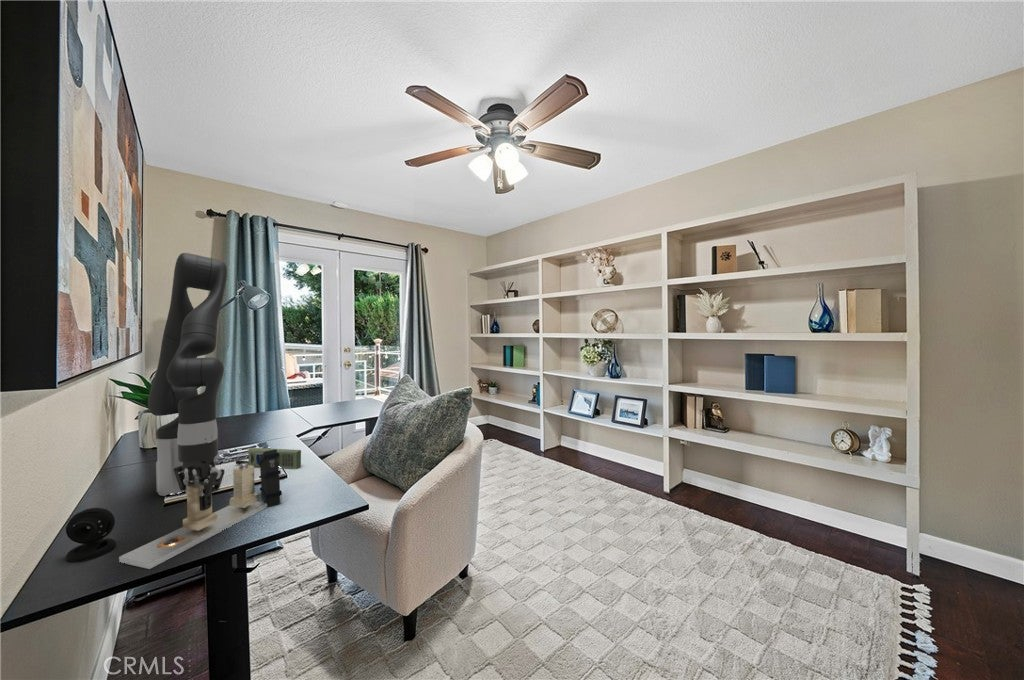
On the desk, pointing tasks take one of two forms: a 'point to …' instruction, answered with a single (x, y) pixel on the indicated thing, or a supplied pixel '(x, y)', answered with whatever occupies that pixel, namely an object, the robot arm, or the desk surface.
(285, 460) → the handheld radio
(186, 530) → the bolt-hole plate
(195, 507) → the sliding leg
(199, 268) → the robot arm
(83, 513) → the webcam
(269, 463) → the black boxy piece
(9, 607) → the desk surface
